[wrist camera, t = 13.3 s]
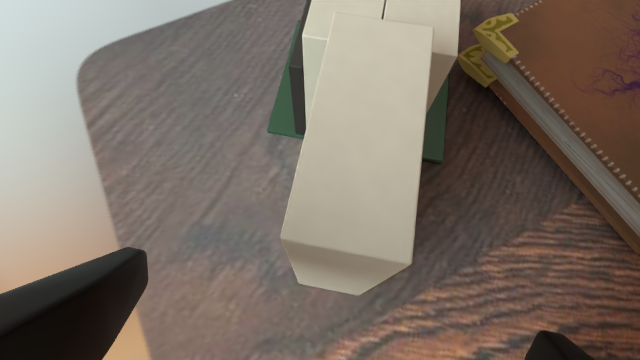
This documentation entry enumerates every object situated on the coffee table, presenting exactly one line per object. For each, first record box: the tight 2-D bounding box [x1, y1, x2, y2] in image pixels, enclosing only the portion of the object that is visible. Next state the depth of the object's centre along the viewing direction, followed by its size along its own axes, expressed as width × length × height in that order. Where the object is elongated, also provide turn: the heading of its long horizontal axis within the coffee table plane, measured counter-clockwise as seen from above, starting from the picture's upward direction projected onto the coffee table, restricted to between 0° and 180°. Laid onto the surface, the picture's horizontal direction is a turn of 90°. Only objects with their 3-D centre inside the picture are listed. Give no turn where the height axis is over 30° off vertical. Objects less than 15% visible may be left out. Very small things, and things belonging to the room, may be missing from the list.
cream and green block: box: [267, 0, 461, 163], centre depth 18 cm, size 8×10×8 cm
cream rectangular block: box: [280, 12, 434, 296], centre depth 14 cm, size 7×3×10 cm, turn 169°
